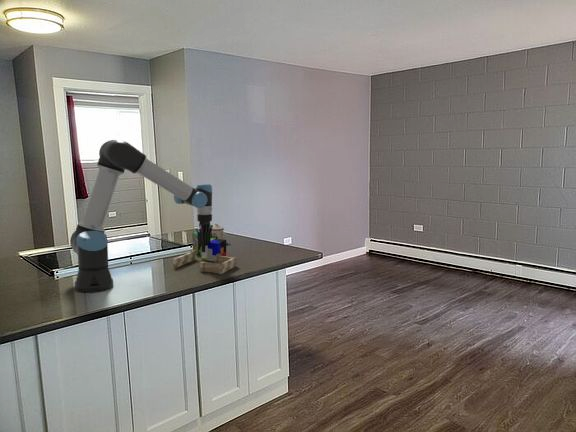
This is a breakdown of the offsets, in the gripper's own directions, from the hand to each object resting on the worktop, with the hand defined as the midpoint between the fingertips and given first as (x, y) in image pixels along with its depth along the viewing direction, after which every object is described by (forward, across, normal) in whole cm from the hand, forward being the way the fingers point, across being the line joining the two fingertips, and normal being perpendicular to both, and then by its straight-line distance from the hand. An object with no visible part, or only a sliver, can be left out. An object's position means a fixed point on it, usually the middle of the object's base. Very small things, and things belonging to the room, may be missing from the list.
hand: (204, 257), depth 228 cm
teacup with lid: (+3, +44, +17) cm, 48 cm away
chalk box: (+3, +17, +12) cm, 21 cm away
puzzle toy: (+3, +9, 0) cm, 9 cm away
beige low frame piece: (+3, -7, -5) cm, 9 cm away
